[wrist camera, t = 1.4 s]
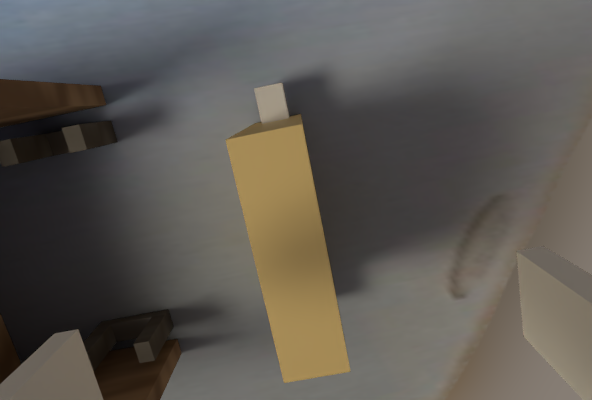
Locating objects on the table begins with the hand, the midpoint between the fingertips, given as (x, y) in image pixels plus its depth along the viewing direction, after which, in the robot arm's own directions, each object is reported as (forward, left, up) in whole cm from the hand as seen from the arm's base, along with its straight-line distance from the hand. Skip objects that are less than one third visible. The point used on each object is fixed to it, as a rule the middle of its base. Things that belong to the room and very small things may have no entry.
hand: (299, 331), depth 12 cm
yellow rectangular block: (0, 0, -16) cm, 16 cm away
